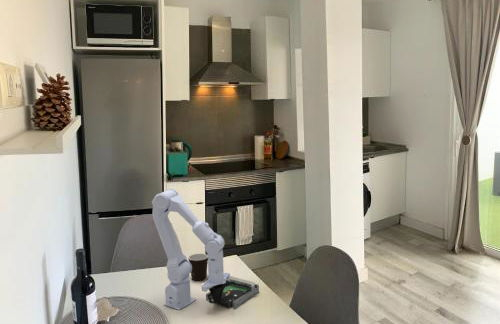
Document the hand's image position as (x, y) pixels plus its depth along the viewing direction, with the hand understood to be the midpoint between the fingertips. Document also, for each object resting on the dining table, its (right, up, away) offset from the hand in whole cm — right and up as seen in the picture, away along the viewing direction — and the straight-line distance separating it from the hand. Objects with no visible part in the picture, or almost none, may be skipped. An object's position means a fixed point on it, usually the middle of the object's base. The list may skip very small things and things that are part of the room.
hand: (217, 302), depth 156 cm
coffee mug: (-10, +2, +28) cm, 30 cm away
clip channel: (+6, 0, +8) cm, 10 cm away
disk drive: (+5, -1, +7) cm, 8 cm away
